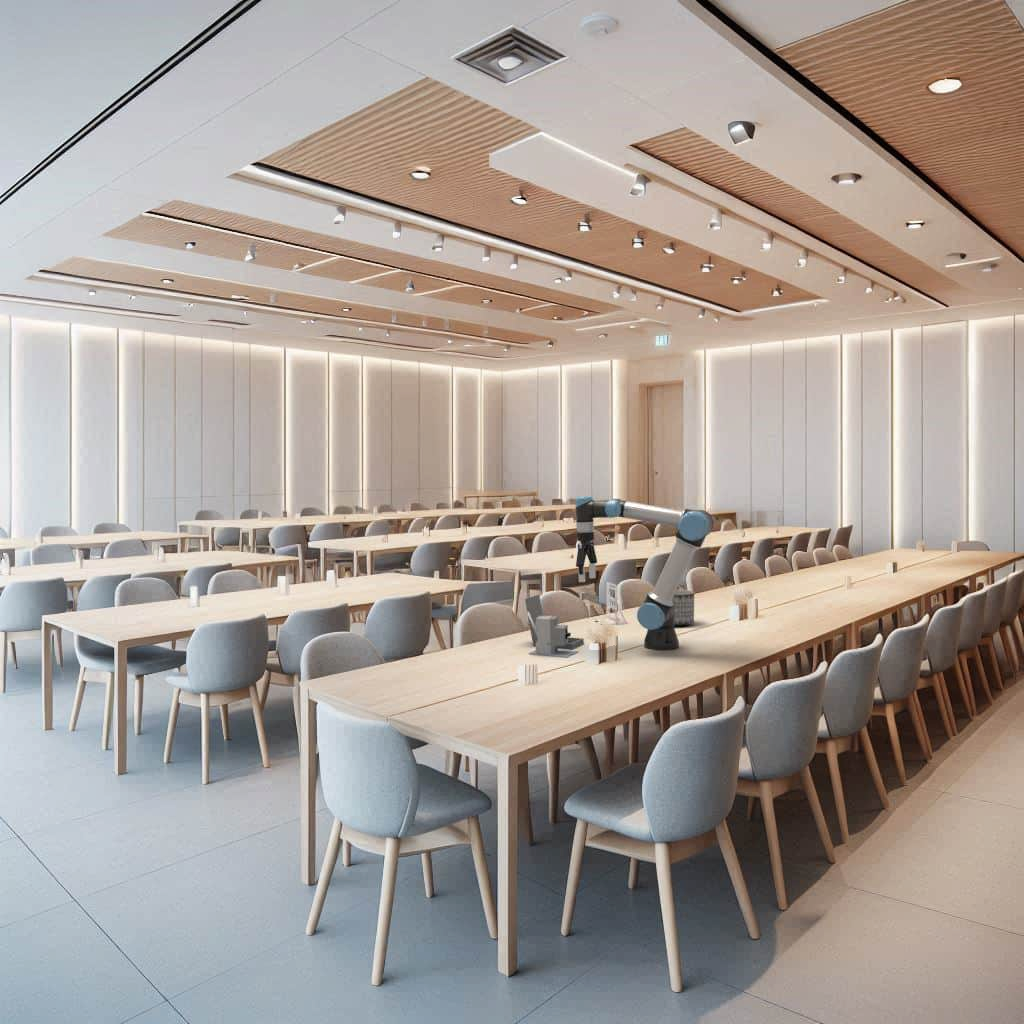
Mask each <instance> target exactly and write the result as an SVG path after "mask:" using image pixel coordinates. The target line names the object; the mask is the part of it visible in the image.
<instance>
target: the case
mask: <svg viewBox="0 0 1024 1024" xmlns="http://www.w3.org/2000/svg"><path fill="white" fill-rule="evenodd" d="M524 601H525V607H526V615H527V617H528V624H529V629H530V635H531V640H532V646H533V647H536V642H537V641H538V629H536V628H535V622H536V618H537V617H539V616H544V614H543V608H542V602H541V596H540V594H535V595H532V596H530V597H526V598H524ZM584 642H585V639H584V638H580V637H571V636H570V637H568V642H567V643H566V645H565V646H558V649H559V650H570V651H574V649H577V648H579V647H581V646H582V645H584V644H585V643H584Z"/></svg>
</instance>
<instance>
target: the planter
mask: <svg viewBox="0 0 1024 1024" xmlns="http://www.w3.org/2000/svg"><path fill="white" fill-rule="evenodd" d="M673 597H674V601H675V628H676V627H677V628H678V627H680V628H681V627H685V626H686V625H692V624H694V621H695V591H693V590H690V589H689V590H687V589H677V590H676V592H675V594H674V596H673Z"/></svg>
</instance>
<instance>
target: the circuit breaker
mask: <svg viewBox="0 0 1024 1024" xmlns="http://www.w3.org/2000/svg"><path fill="white" fill-rule="evenodd" d="M535 628H536V629H538V641H537V642H536V646H535V650H536V653H539V654H555V653H556V652H557V651H558V649H559V648H558V646H565V645H566V643H567V642H568V637H570V638H571V632H568V631H569V630H568V629H569V627H568V624H558V616H557V615H543V616H539V617H537V618H536V622H535Z"/></svg>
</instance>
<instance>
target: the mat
mask: <svg viewBox="0 0 1024 1024" xmlns="http://www.w3.org/2000/svg"><path fill="white" fill-rule="evenodd" d="M578 653H579V651H578V650H570V649H559V648H558V651H557V652H556V653H555V654H539V653H536V649H535V650H532V651H531V652H528V655H533V656H545V657H553V658H554V657H555V658H566V659H568V658H569V657H572V656H574V655H575V654H578Z"/></svg>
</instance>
